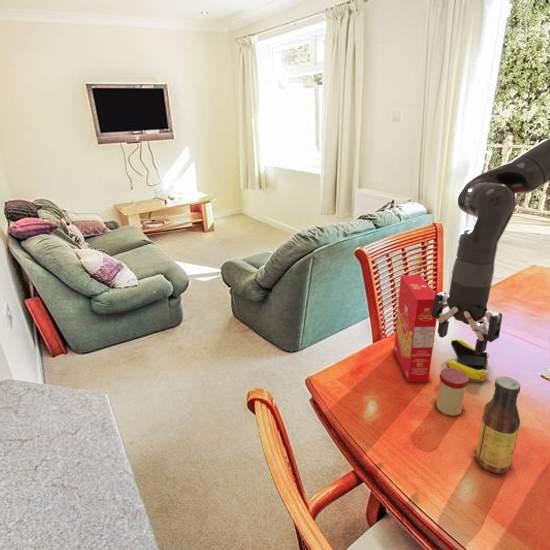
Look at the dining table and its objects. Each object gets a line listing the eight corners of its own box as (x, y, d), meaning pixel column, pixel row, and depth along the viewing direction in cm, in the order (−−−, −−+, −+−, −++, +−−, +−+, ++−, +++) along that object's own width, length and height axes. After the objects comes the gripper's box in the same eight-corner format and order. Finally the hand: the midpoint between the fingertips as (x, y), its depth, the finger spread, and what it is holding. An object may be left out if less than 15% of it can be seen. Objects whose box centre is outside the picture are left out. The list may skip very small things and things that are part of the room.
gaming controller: (443, 379, 101) (485, 391, 96) (445, 363, 99) (489, 373, 94) (450, 350, 113) (487, 359, 108) (452, 335, 110) (491, 343, 106)
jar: (458, 400, 93) (463, 370, 90) (464, 416, 88) (470, 385, 85) (434, 398, 95) (438, 368, 91) (439, 414, 90) (443, 383, 86)
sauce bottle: (516, 473, 74) (539, 394, 66) (486, 477, 74) (505, 397, 66) (496, 447, 80) (514, 371, 72) (467, 449, 80) (483, 374, 72)
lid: (463, 373, 90) (464, 368, 90) (470, 390, 85) (471, 385, 84) (437, 371, 92) (438, 366, 91) (442, 387, 86) (443, 382, 86)
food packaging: (394, 350, 114) (400, 275, 104) (411, 350, 114) (420, 274, 104) (408, 382, 101) (417, 299, 91) (428, 381, 100) (439, 298, 91)
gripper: (516, 284, 74) (500, 352, 81) (450, 264, 85) (441, 326, 92) (496, 295, 70) (481, 365, 77) (430, 272, 81) (422, 336, 88)
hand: (459, 344), depth 84 cm, fingers open, 8 cm apart
